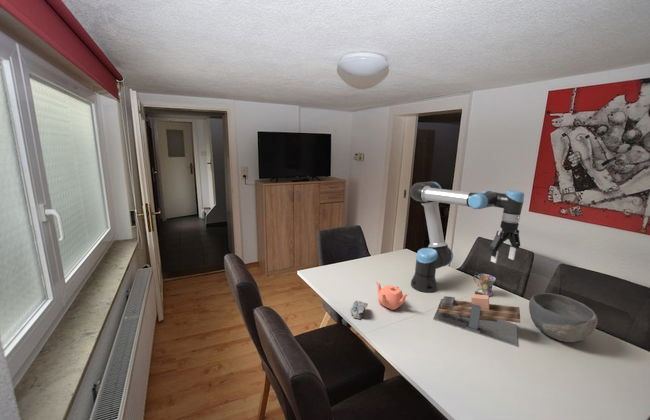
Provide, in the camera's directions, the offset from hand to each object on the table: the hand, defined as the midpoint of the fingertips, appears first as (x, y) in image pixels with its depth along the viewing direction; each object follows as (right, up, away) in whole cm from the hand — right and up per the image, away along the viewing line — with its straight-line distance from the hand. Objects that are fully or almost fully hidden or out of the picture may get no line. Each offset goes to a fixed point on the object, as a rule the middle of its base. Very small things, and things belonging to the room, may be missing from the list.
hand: (502, 260), depth 149 cm
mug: (+1, -23, +21) cm, 31 cm away
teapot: (-59, -25, +3) cm, 64 cm away
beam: (-18, -25, -11) cm, 33 cm away
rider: (-18, -22, -12) cm, 30 cm away
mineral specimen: (-75, -26, -4) cm, 80 cm away
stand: (-20, -29, -9) cm, 36 cm away
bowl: (+15, -32, -16) cm, 39 cm away
